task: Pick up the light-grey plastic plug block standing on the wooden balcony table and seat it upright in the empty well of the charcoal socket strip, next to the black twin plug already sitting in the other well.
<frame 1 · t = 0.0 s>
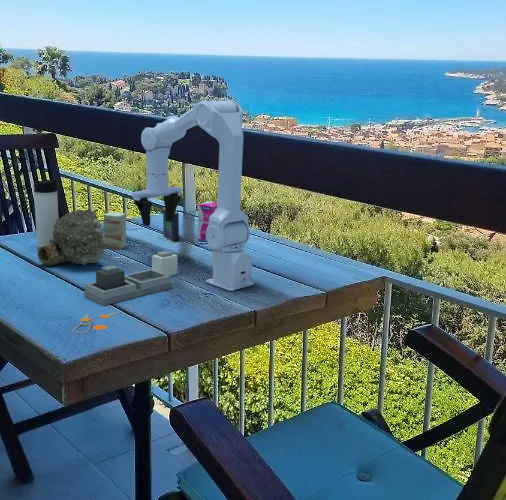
hand: (158, 223, 182), 10 cm above the table, tool pointing down, fingers open, 7 cm apart
flask: (171, 239, 208), on the table
travel mug: (49, 249, 193), on the table
grey plug: (164, 274, 172), on the table
skincare box: (115, 248, 196), on the table
twin plug: (111, 296, 154), resting on socket strip
rock: (70, 264, 180), on the table
socket strip: (129, 292, 158), on the table
supplement box: (210, 240, 207), on the table
key chain: (95, 324, 140), on the table
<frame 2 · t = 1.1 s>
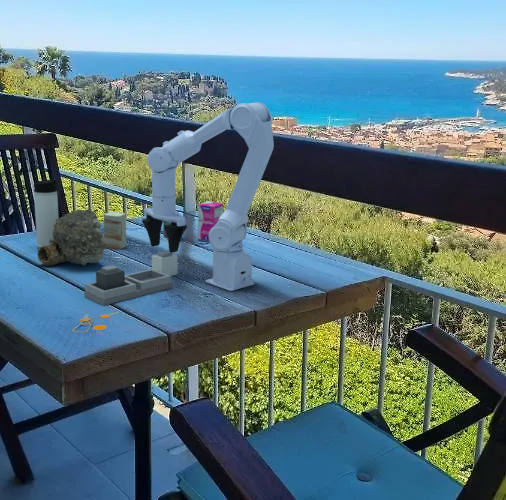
hand: (164, 248, 170), 7 cm above the table, tool pointing down, fingers open, 7 cm apart
nothing on the table moved.
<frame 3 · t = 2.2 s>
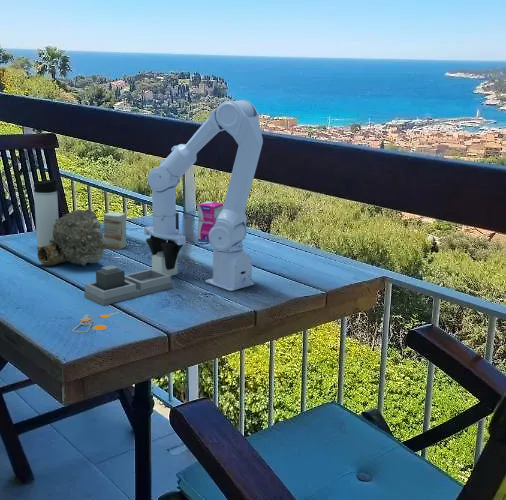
hand: (164, 266, 172), 2 cm above the table, tool pointing down, fingers closed on grey plug, 4 cm apart
grey plug: (164, 274, 172), on the table, touching gripper
everything else where it was.
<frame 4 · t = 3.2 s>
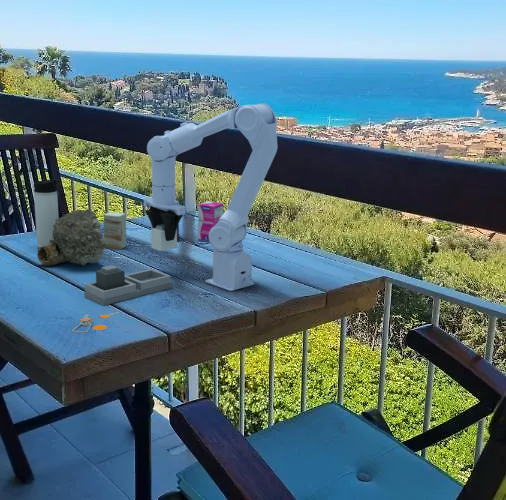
hand: (164, 238, 170), 9 cm above the table, tool pointing down, fingers closed on grey plug, 4 cm apart
grey plug: (164, 247, 170), point 7 cm above the table, touching gripper
everything else where it was.
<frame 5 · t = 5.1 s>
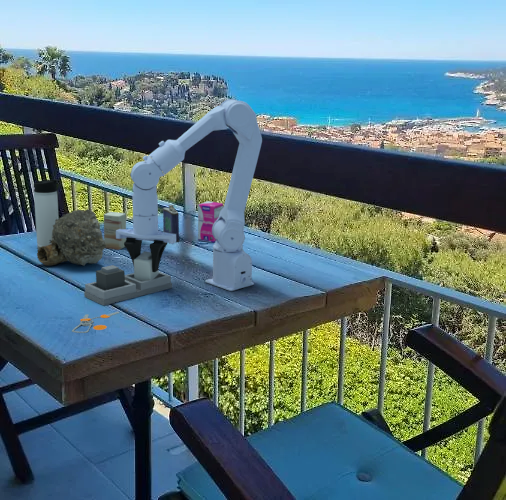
hand: (146, 270, 160), 4 cm above the table, tool pointing down, fingers closed on grey plug, 4 cm apart
grey plug: (146, 276, 161), point 3 cm above the table, tilted 7°, touching gripper, socket strip
everything else where it was.
when the fingers open (4 cm above the table, at t = 5.3 s): grey plug stays where it is, resting on socket strip.
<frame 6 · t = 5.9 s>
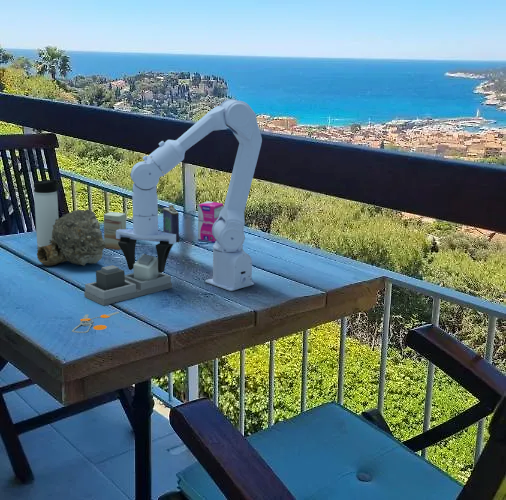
hand: (146, 270, 160), 4 cm above the table, tool pointing down, fingers open, 7 cm apart
grey plug: (146, 278, 161), point 2 cm above the table, tilted 18°, touching socket strip
everything else where it was.
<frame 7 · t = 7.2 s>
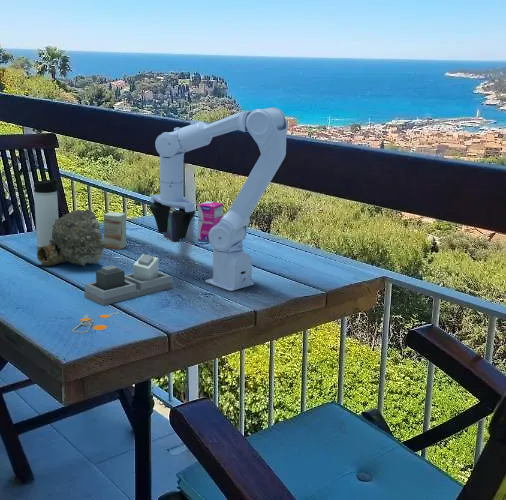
hand: (172, 235, 169), 10 cm above the table, tool pointing down, fingers open, 7 cm apart
nothing on the table moved.
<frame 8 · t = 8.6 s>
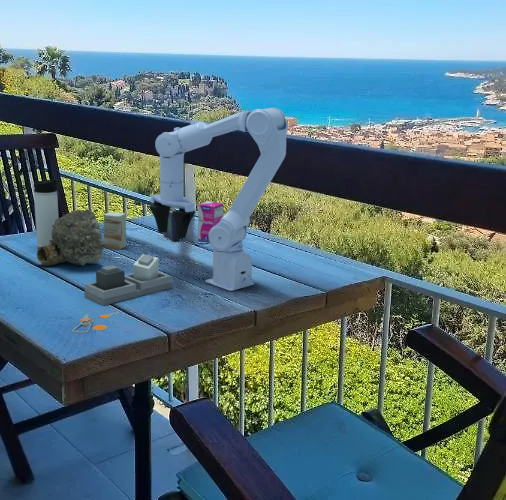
hand: (172, 235, 169), 10 cm above the table, tool pointing down, fingers open, 7 cm apart
nothing on the table moved.
at the end: grey plug 0.4 cm from the target spot on the socket strip, point 2.2 cm above the socket strip's base; grey plug tilted 18°; the gripper is holding nothing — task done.
